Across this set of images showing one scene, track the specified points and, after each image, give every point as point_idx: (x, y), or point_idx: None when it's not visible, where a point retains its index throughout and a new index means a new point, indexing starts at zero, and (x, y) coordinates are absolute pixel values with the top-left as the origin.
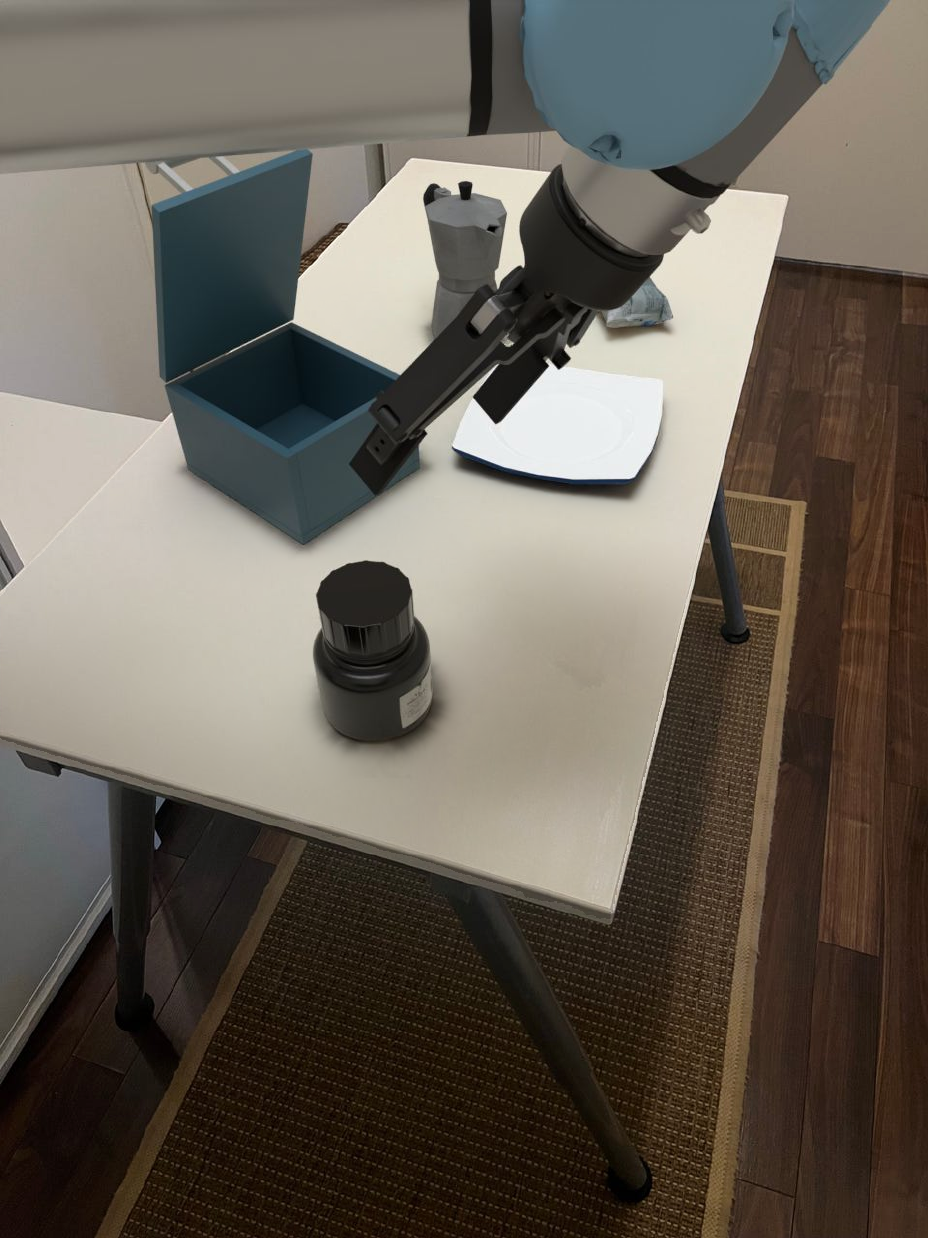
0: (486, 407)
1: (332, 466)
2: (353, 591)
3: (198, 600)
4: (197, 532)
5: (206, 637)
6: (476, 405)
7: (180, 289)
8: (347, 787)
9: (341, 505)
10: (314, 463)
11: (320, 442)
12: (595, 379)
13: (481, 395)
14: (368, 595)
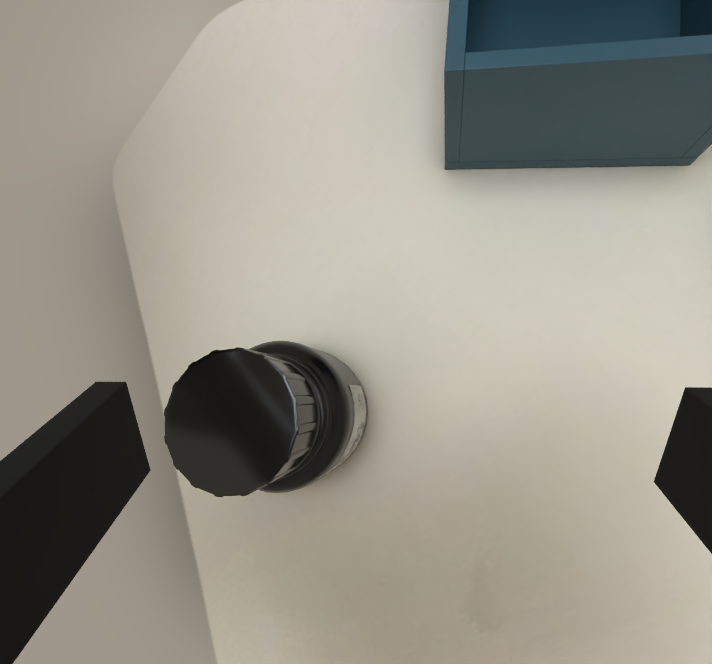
0: (678, 448)
1: (528, 110)
2: (221, 406)
3: (306, 154)
4: (383, 63)
5: (273, 203)
6: None
7: None
8: None
9: (520, 156)
10: (495, 96)
11: (520, 72)
12: None
13: (702, 425)
14: (226, 431)
